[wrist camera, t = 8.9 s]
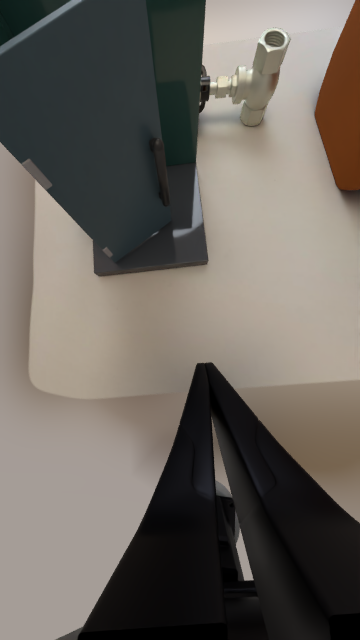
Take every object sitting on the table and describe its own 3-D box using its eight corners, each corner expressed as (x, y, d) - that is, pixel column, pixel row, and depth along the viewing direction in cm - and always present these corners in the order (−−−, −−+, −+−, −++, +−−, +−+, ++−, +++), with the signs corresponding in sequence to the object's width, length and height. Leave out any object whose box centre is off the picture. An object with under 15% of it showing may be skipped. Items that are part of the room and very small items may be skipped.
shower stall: (207, 264, 22) (252, 113, 7) (98, 276, 23) (-72, 156, 8) (195, 167, 24) (211, -112, 9) (94, 180, 25) (-49, -69, 10)
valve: (262, 99, 25) (188, 106, 26) (289, 15, 19) (190, 26, 19) (267, 133, 24) (191, 140, 25) (296, 58, 18) (193, 69, 18)
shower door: (177, 227, 21) (160, -21, 7) (120, 270, 21) (-37, 108, 6) (169, 218, 22) (134, -45, 7) (112, 260, 21) (-57, 80, 6)
